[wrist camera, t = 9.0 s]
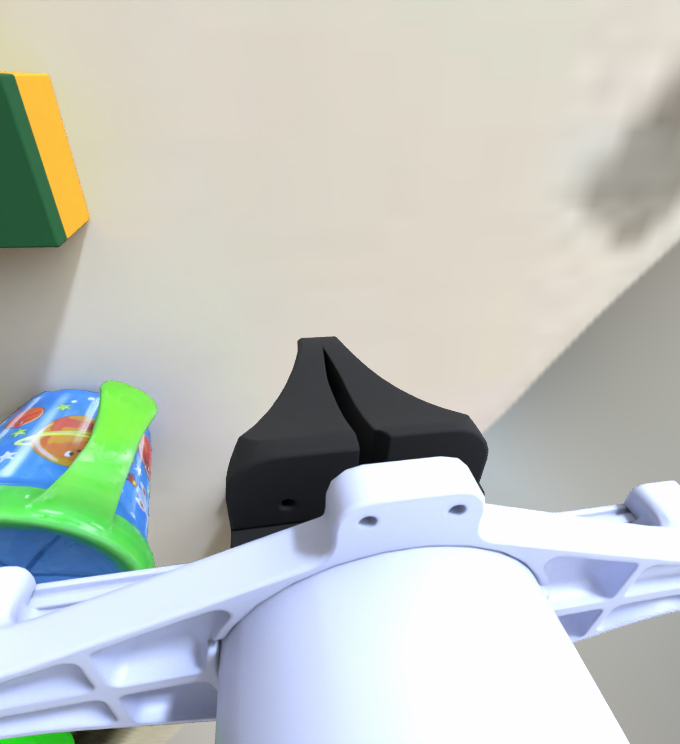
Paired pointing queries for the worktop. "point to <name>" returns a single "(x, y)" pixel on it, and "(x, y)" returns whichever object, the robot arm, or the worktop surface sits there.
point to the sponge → (35, 166)
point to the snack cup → (77, 483)
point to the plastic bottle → (42, 739)
